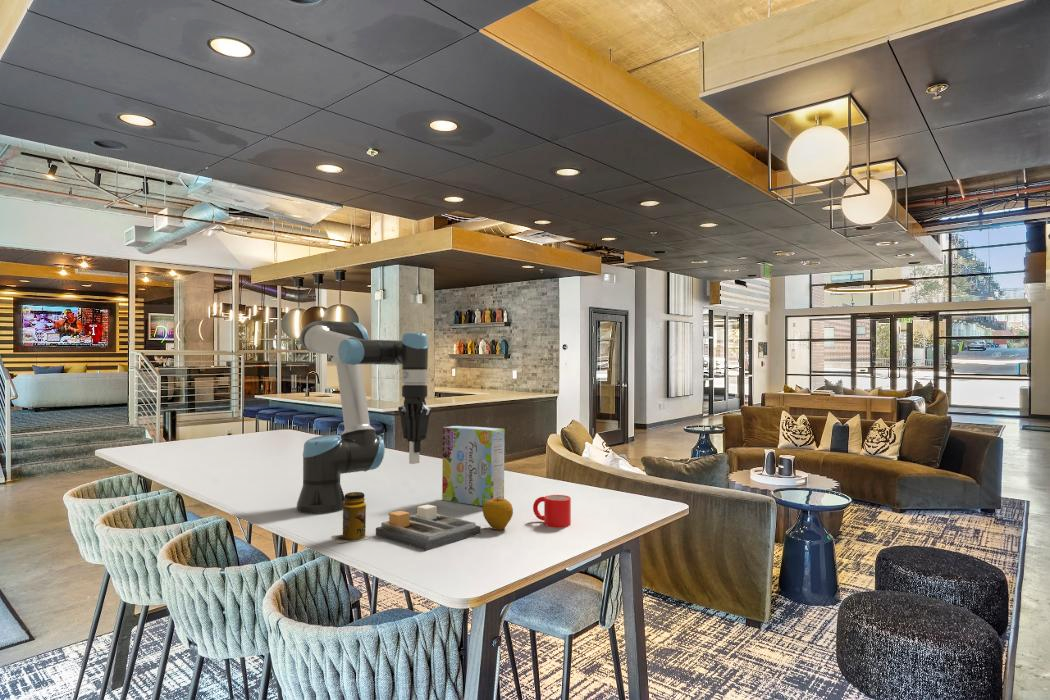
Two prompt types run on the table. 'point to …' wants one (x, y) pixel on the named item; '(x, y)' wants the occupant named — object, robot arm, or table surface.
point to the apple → (498, 513)
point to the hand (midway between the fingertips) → (414, 463)
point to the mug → (554, 510)
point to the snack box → (473, 464)
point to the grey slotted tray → (429, 531)
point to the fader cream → (427, 512)
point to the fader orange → (399, 518)
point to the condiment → (353, 518)
